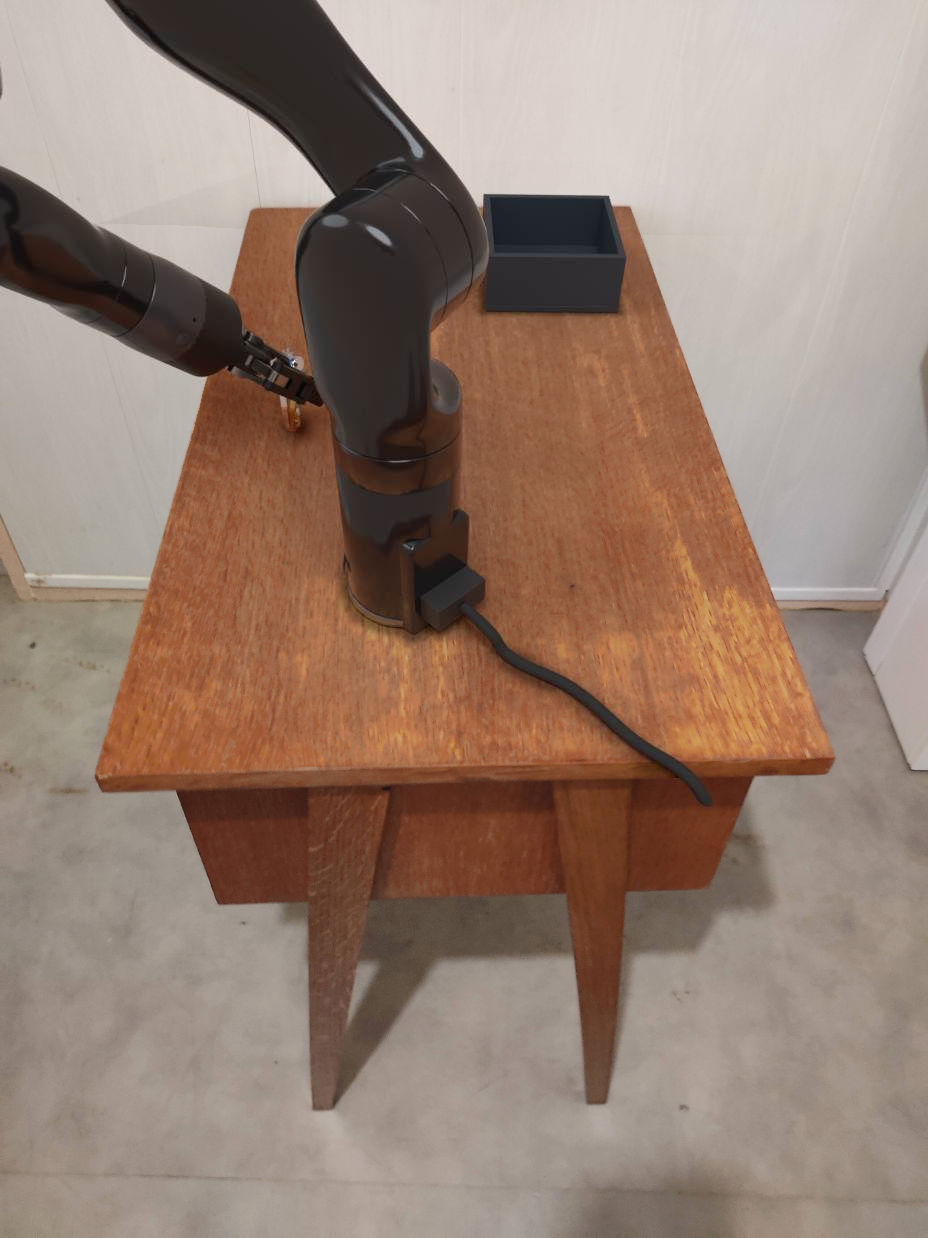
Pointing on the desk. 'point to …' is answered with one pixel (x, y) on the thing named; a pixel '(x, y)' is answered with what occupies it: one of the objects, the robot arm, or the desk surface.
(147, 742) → the desk surface
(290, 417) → the ring
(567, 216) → the bin
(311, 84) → the robot arm
